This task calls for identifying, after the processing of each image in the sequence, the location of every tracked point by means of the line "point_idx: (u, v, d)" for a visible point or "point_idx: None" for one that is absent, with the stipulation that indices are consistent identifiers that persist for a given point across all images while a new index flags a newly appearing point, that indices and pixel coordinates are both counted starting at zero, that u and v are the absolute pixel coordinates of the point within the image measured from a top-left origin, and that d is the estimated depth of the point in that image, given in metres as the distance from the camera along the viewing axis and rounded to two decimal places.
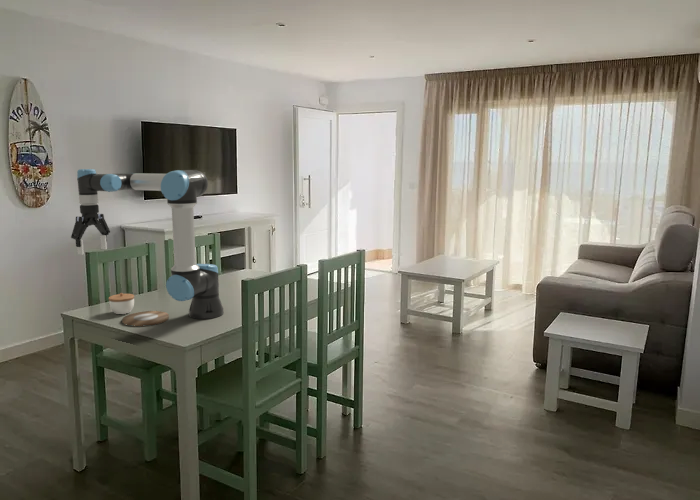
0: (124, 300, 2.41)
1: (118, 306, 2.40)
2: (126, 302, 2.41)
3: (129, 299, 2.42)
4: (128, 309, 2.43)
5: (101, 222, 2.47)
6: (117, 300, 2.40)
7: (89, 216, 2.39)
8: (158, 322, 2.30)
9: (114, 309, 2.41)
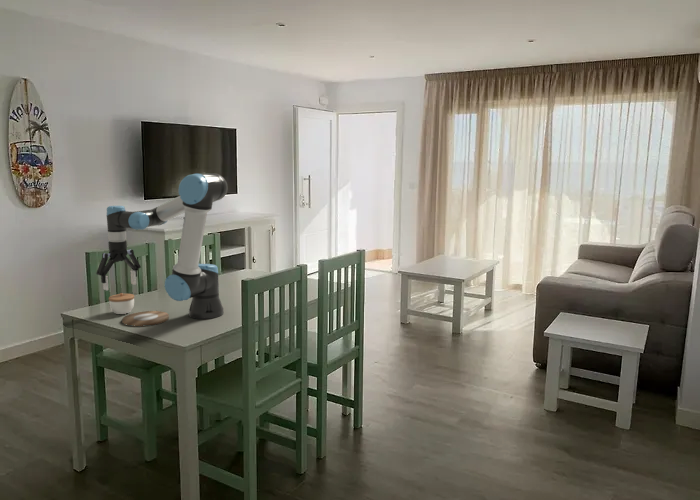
0: (124, 300, 2.41)
1: (118, 306, 2.40)
2: (126, 302, 2.41)
3: (129, 299, 2.42)
4: (128, 309, 2.43)
5: (131, 257, 2.47)
6: (117, 300, 2.40)
7: (116, 252, 2.40)
8: (158, 322, 2.30)
9: (114, 309, 2.41)
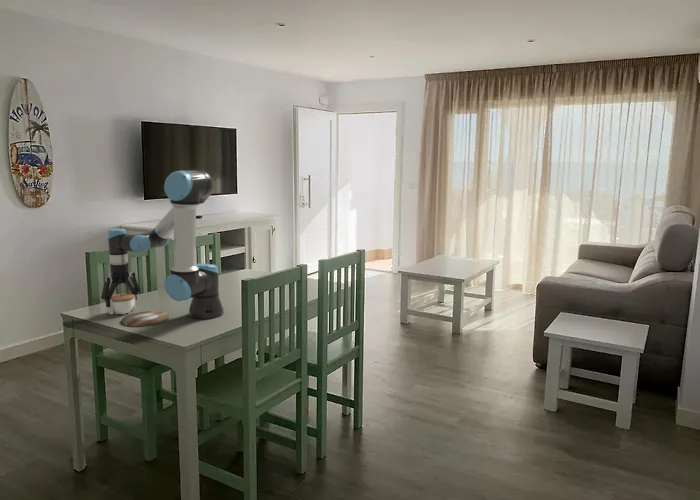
0: (124, 300, 2.41)
1: (118, 306, 2.40)
2: (126, 302, 2.41)
3: (129, 299, 2.42)
4: (128, 309, 2.43)
5: (132, 280, 2.49)
6: (117, 300, 2.40)
7: (118, 275, 2.41)
8: (158, 322, 2.30)
9: (114, 309, 2.41)
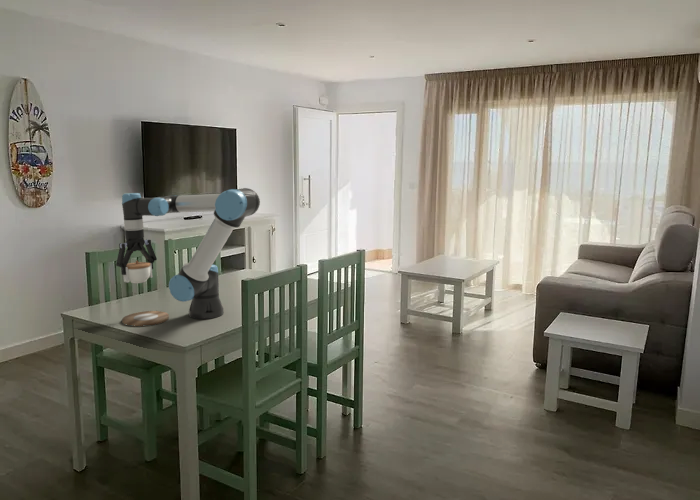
0: (140, 267, 2.30)
1: (134, 273, 2.30)
2: (142, 270, 2.31)
3: (145, 266, 2.32)
4: (144, 277, 2.33)
5: (148, 248, 2.38)
6: (133, 267, 2.29)
7: (133, 241, 2.31)
8: (158, 322, 2.30)
9: (130, 277, 2.31)
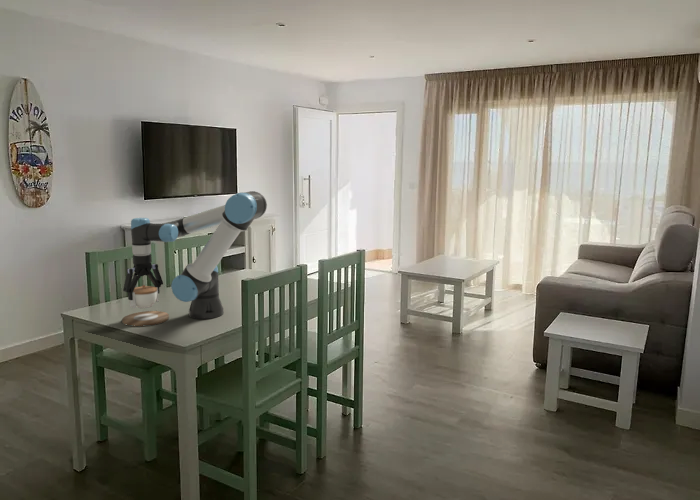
0: (147, 293, 2.30)
1: (141, 299, 2.29)
2: (149, 295, 2.30)
3: (152, 292, 2.31)
4: (151, 302, 2.32)
5: (155, 273, 2.38)
6: (140, 293, 2.29)
7: (141, 266, 2.30)
8: (158, 322, 2.30)
9: (136, 302, 2.30)
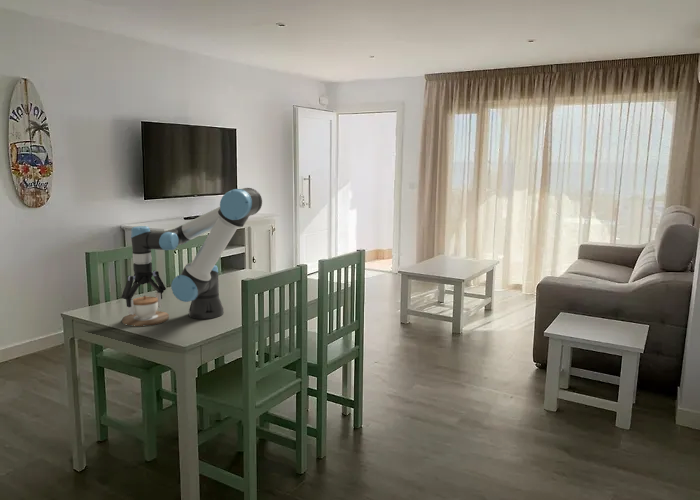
0: (148, 303, 2.30)
1: (142, 310, 2.30)
2: (150, 306, 2.31)
3: (153, 302, 2.32)
4: (152, 313, 2.33)
5: (156, 279, 2.39)
6: (141, 303, 2.29)
7: (141, 275, 2.31)
8: (158, 322, 2.30)
9: (137, 313, 2.31)
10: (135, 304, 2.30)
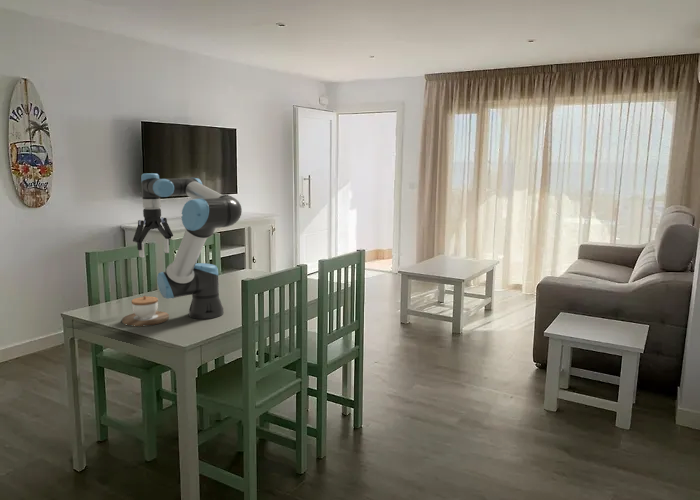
0: (148, 303, 2.30)
1: (142, 310, 2.30)
2: (150, 306, 2.31)
3: (153, 302, 2.32)
4: (152, 313, 2.33)
5: (164, 226, 2.49)
6: (141, 303, 2.29)
7: (151, 220, 2.41)
8: (158, 322, 2.30)
9: (137, 313, 2.31)
10: (135, 304, 2.30)
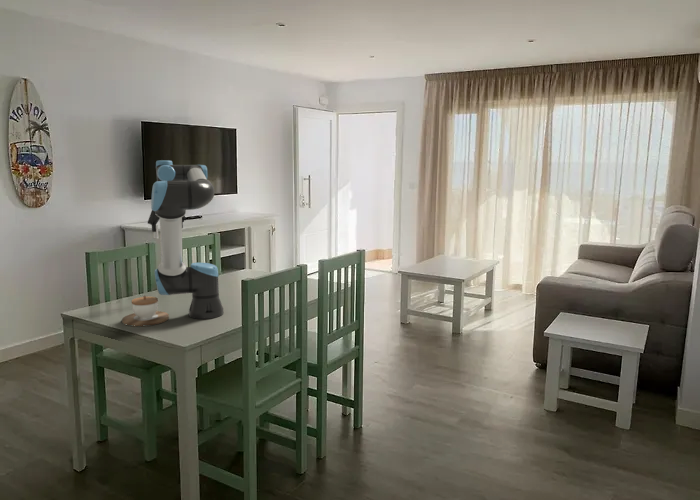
0: (148, 303, 2.30)
1: (142, 310, 2.30)
2: (150, 306, 2.31)
3: (153, 302, 2.32)
4: (152, 313, 2.33)
5: None
6: (141, 303, 2.29)
7: None
8: (158, 322, 2.30)
9: (137, 313, 2.31)
10: (135, 304, 2.30)
